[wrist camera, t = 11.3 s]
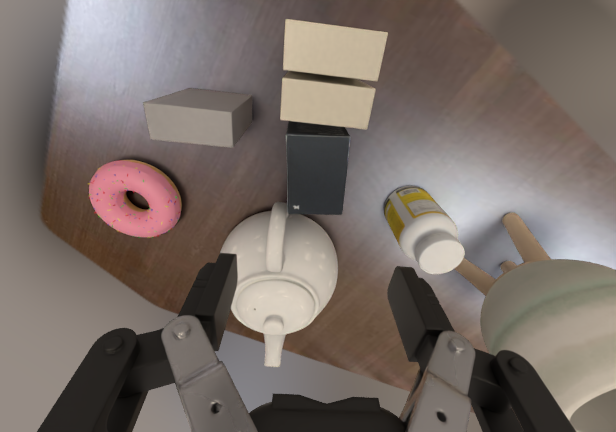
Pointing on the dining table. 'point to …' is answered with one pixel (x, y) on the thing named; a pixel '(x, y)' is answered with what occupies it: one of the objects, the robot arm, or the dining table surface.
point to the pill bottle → (423, 230)
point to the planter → (555, 325)
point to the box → (316, 168)
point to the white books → (329, 73)
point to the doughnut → (138, 178)
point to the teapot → (281, 274)
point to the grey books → (199, 117)
